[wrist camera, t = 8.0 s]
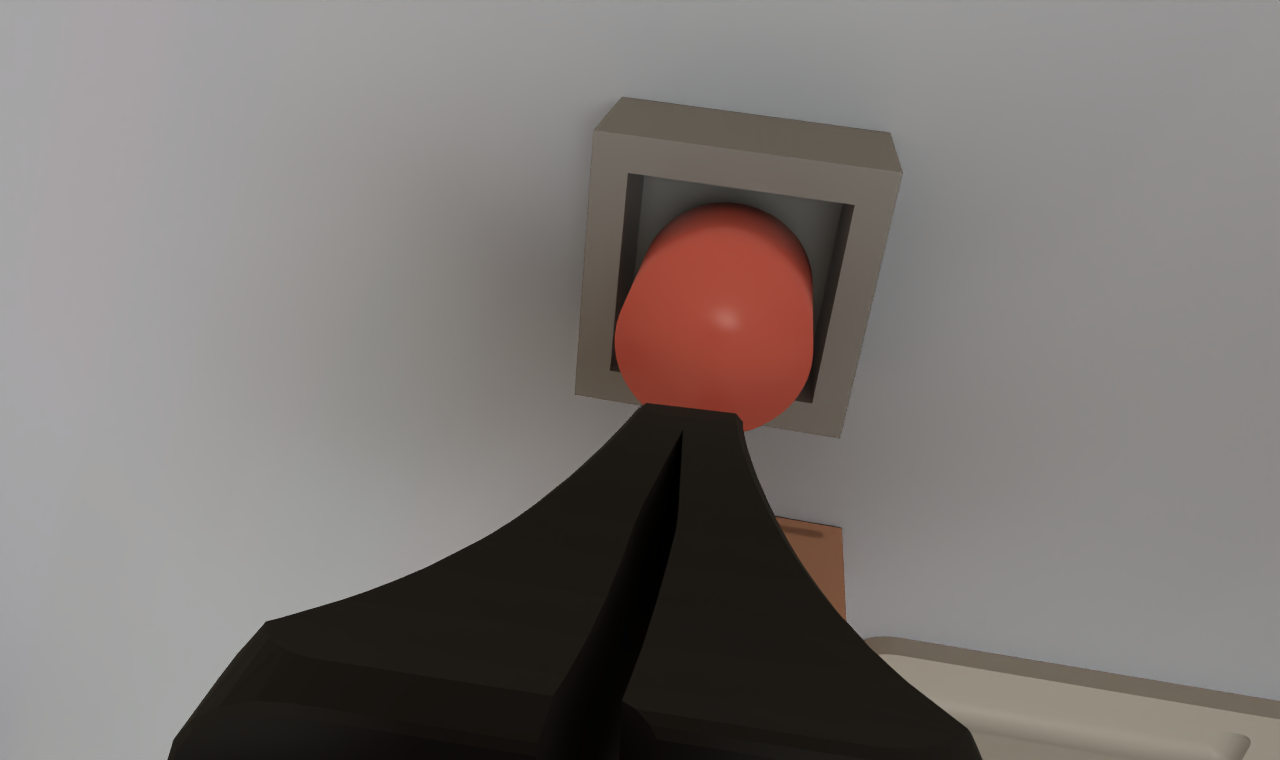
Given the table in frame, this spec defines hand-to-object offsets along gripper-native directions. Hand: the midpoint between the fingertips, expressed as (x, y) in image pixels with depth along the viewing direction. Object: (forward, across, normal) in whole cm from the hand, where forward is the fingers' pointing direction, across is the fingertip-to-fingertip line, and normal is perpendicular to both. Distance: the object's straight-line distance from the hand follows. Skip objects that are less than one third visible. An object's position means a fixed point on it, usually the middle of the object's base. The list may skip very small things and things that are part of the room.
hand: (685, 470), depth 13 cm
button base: (+9, 0, 0) cm, 9 cm away
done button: (+7, 0, 0) cm, 7 cm away
